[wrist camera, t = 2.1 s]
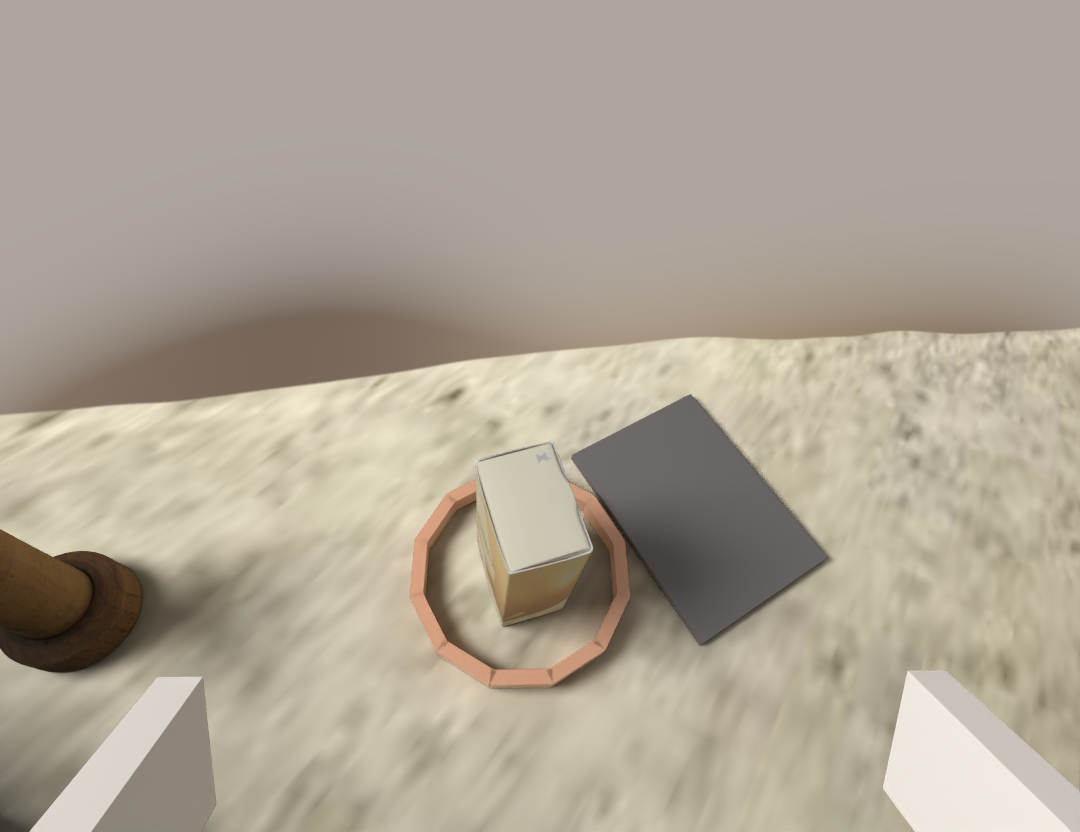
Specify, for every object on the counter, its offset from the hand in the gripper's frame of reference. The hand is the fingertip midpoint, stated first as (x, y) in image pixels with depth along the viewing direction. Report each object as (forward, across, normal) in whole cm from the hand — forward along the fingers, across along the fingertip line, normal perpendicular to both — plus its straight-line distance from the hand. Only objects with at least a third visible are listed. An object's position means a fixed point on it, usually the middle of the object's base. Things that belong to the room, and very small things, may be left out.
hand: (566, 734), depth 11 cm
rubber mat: (+30, +13, -8) cm, 33 cm away
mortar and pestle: (+25, -26, -13) cm, 38 cm away
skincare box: (+26, 0, -11) cm, 29 cm away
